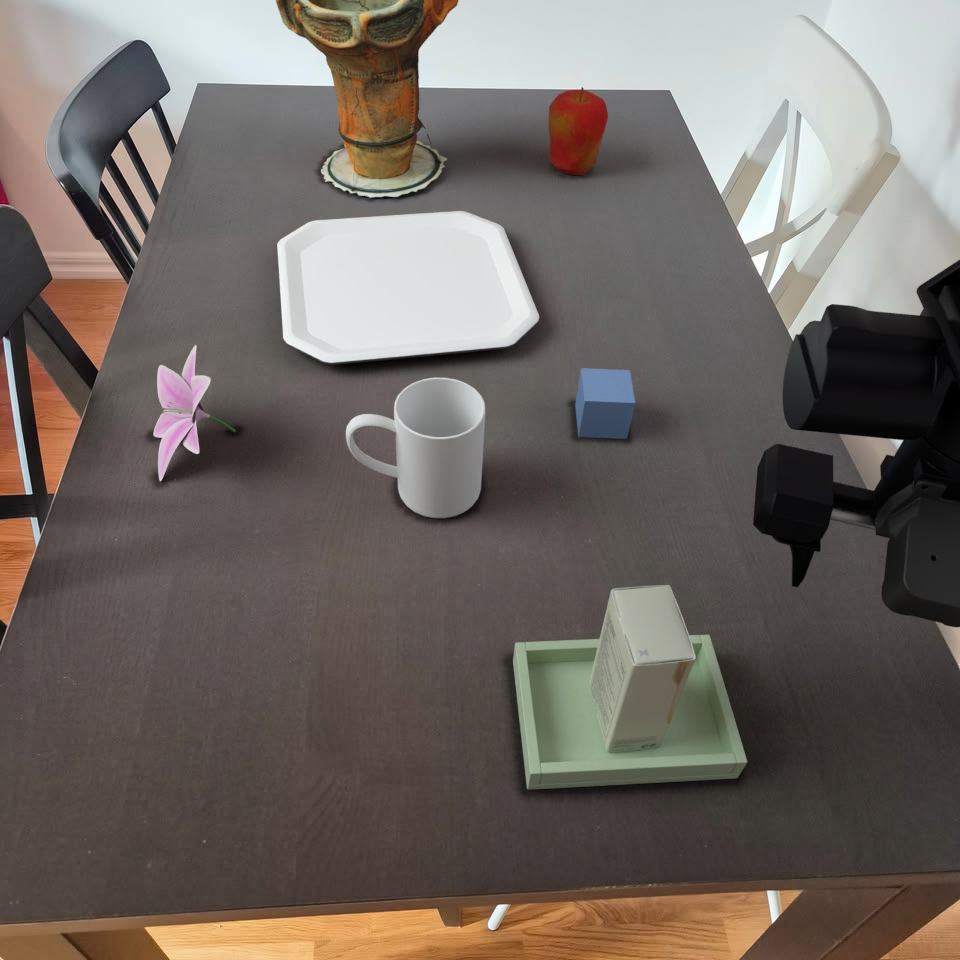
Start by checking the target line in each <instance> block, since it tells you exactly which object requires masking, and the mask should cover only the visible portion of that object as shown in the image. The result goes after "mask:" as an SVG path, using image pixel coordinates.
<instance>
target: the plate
mask: <svg viewBox="0 0 960 960" xmlns="http://www.w3.org/2000/svg"><path fill="white" fill-rule="evenodd" d="M276 247H277V248H276V249H277V263H278V279H279V295H280V296H279V297H280V311H281V312H280V313H281V324H282V325H281V326H282V327H281V329H282V340H283V342H284V343H285V344H286V345H287V347H289V348H291V349H293V350H295V351H297V352H299V353H301V354H303V355H305V356H307V357H309V358H311V359H313V360H315V361H317V362H319V363H321V364H323V365H329V366H337V365H347V364H357V363H358V364H359V363H368V362H380V361H390V360H392V361H393V360H401V359H413V358H421V357H422V358H423V357H434V356H444V355H445V356H446V355H454V354H456V355H457V354H464V353H465V354H466V353H475V352H486V351H496V350H497V351H498V350H506V349H510V348H512V347H515V345H517V344H518V342H519V341H521V340H522V339H523V338H524V337H525V336H526V335H527V334H528V333H529V332H530V331H531V330H532V329H533V328H534V327H536V326H537V325H538V324H539V321H540V318H541V317H540V314H539V312H538V310H537V307H536V304H535V302H534V299H533V297H532V295H531V292H530V290H529V287H528V285H527V282H526V279H525V277H524V275H523V273H522V269H521V267H520V265H519V262H518V260H517V257H516V256H515V253H514V250H513V247H512V244H511V243H510V240H509V238H508V235H507V233H506V230H505V228H504V227H503V226H502V225H501V224H499V223H496V222H494V221H491V220H489V219H486V218H484V217H482V216H478V215H476V214H474V213H471V212H469V211H464V210H455V211H453V210H452V211H438V212H437V211H436V212H424V213H423V212H421V213H409V214H408V213H407V214H391V215H377V216H376V215H375V216H363V217H347V218H332V219H317V220H312V221H309V222H306V223H305V224H303V225H302V226H300V227H297V228H296V229H295V230H293V231H292V232H290V233H288V234H287V235H286V236H283V237H282V238H280V239H279V240H278V242H277V244H276Z"/></svg>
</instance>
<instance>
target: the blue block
mask: <svg viewBox="0 0 960 960" xmlns="http://www.w3.org/2000/svg"><path fill="white" fill-rule="evenodd" d="M574 405H575V416H576V428H577V429H576V430H577V436H578V438H587V439H588V438H591V439H615V440H618V439H619V440H627V439H628V435H629V431H630V428H631V423H632V419H633V415H634V410H635V406H636V398H635V392H634V385H633V380H632V374H631V370H630V369H612V368H587V367H581V368H580V374H579V379H578V385H577V391H576V398H575V404H574Z"/></svg>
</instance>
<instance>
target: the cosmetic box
mask: <svg viewBox="0 0 960 960" xmlns="http://www.w3.org/2000/svg"><path fill="white" fill-rule="evenodd" d="M689 635H690V633H689V631H688V628H687V626H686V623H685V620H684V617H683V614H682V612H681V609H680V607H679V604H678V602H677V599H676V596H675V594H674V592H673V590H672V586H671V585H670V584H659V585H657V584H656V585H641V586H626V587H625V586H624V587H614V588H612V589H611V590H610V593H609V598H608V601H607V606H606V610H605V615H604V619H603V623H602V627H601V631H600V635H599V638H598V639H599V643H598V647H597V652H596V656H595V660H594V664H593V668H592V672H591V676H590V681H589V685H590V689H591V694H592V699H593V703H594V707H595V711H596V715H597V719H598V723H599V727H600V730H601V734H602V738H603V741H604V744H605V748H606V751H607V752H622V751H633V750H642V749H650V748H656V747H660V746H661V744H662V742H663V739H664V737H665V734H666V732H667V729H668V727H669V724H670V722H671V719H672V716H673V714H674V712H675V709H676V707H677V704H678V701H679V699H680V697H681V694H682V692H683V689H684V686H685V684H686V681H687V679H688V676H689V674H690V671H691V669H692V666H693V664H694V662H695V660H696V656H695V653H694V649H693V646H692V642H691V639H690V636H689Z"/></svg>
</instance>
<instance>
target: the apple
mask: <svg viewBox="0 0 960 960" xmlns="http://www.w3.org/2000/svg"><path fill="white" fill-rule="evenodd" d="M584 89H585V88H584V87H581V89H571V90H566V91H563V92H561V93H559V94H558V95H557V96H556V97H555V98H554V99H553V100H552V101H551V104H549V106H548V132H549V157H548V159H549V161H550V162H551V164H552V165H553V166H554V167H555V168H556V170H558V171H559V172H560V173H563V174H567V175H573V176H582V175H585V174H587V173H588V172H589V171H590V170H592V168H593V167H594V166H595V165H596V163H597V160H598V159H597V158H598V154H599V150H600V146H601V143H602V140H603V138H604V134H605V131H606V127H607V123H608V118H609V112H608V107H607V103H606V101H605V100H604V99H603V98H602V97H600V96H598V95H596V94H594V93H592V92H591V91H587V90H584Z"/></svg>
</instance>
